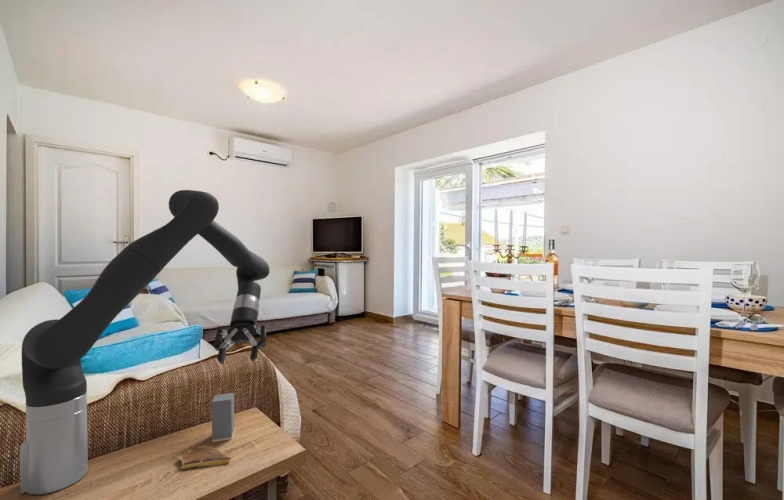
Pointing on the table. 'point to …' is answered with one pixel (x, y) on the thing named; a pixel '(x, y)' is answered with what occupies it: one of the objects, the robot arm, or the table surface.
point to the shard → (202, 457)
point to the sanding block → (223, 417)
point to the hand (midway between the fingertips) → (236, 361)
